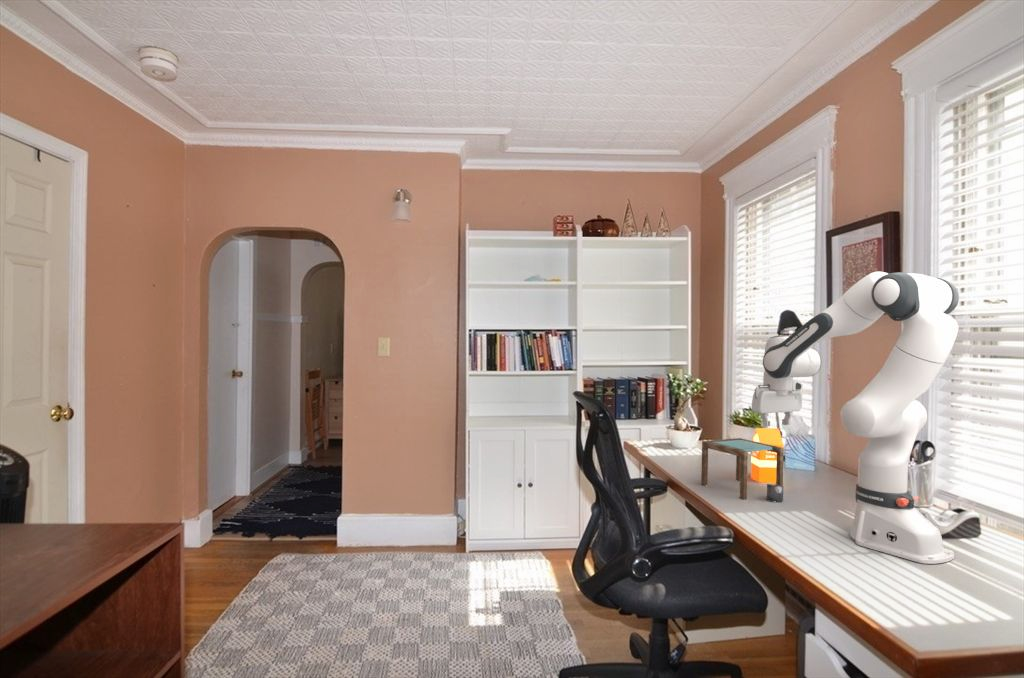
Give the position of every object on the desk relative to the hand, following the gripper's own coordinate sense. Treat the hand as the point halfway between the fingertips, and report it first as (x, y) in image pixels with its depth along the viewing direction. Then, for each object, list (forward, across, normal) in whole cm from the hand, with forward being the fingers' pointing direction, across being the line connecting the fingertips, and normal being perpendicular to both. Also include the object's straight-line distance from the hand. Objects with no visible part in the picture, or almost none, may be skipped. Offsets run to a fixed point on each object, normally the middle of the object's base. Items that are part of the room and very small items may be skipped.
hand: (776, 425), depth 182 cm
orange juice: (+26, +19, +18) cm, 37 cm away
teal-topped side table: (+25, 0, +14) cm, 29 cm away
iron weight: (+25, 0, 0) cm, 25 cm away
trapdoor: (+10, 0, +14) cm, 17 cm away
